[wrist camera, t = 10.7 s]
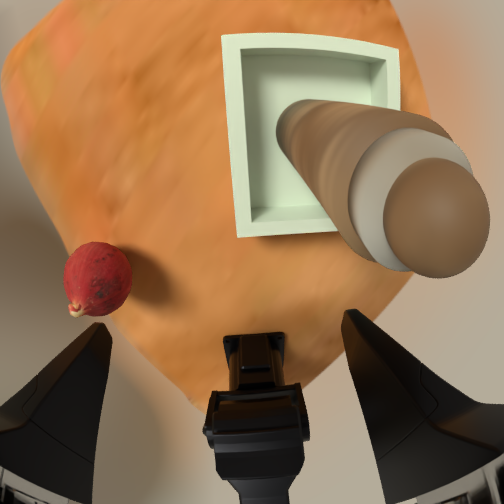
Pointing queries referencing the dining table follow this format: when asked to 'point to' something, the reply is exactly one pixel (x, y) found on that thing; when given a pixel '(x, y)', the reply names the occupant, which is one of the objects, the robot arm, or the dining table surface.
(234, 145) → the serving tray
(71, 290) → the pomegranate
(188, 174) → the dining table surface
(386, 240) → the pepper mill
